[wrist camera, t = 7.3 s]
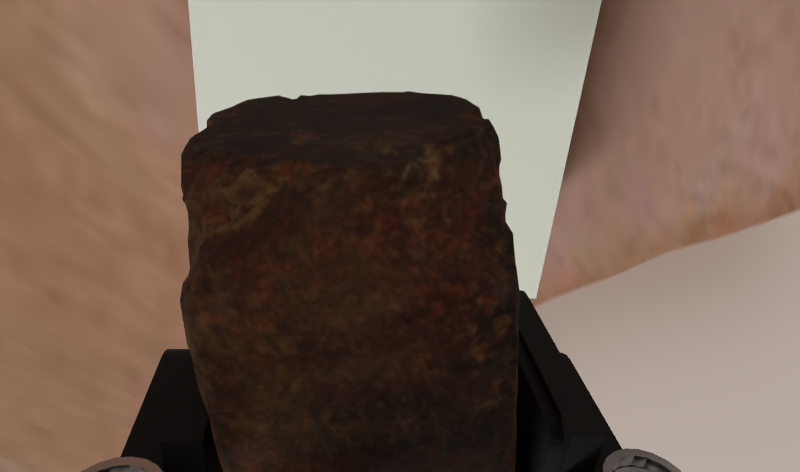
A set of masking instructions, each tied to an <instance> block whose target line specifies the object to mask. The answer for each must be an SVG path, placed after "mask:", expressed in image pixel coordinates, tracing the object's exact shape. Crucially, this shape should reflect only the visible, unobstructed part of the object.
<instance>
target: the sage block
mask: <svg viewBox="0 0 800 472" xmlns="http://www.w3.org/2000/svg"><path fill="white" fill-rule="evenodd" d="M601 1H602V0H188V5H189V17H190V30H191V42H192V54H193V66H194V79H195V91H196V103H197V115H198V128H199V132H201V131H202V130H204V129H205V128H207V120H208V118H209V117H210V116H211V115H212V114H213V113H216V112H218V111H221V110H224V109H227V108H230V107H233V106H235V105H237V104H238V103H241V102H243V101H246V100H249V99H255V98H263V97H270V96H278V95H280V96H282V97H287V98H290V99H297V98H298V97H299V96H300V95H306V96H313V95H317V94H347V93H369V92H406V91H411V92H417V93H428V94H444V95H454V96H457V97H461V98H464V99H466V100H468V101H470V102H471V103H473V104H474V105H476V106H478V107H479V108H480V111H481V114H482V117H483V118H484V119H489V120H490V122H491V123H492V125H493V126H494V128H495V131H496V133H497V135H498V137H499V143H500V152H501V162H500V166H499V175H500V179H501V184H502V193H503V199H504V200H505V201H506V202H507V207H506V214H505V217H506V223H507V224H508V226H509V228H510V229H511V231H512V232H513V240H514V251H515V262H516V268H517V275H518V283H519V290H522V291H525V293H526V294H527V296H528V297H529V298H536V296H537V291H538V287H539V282H540V278H541V273H542V269H543V264H544V260H545V255H546V251H547V246H548V242H549V237H550V232H551V228H552V223H553V219H554V214H555V210H556V205H557V201H558V196H559V192H560V187H561V183H562V178H563V174H564V169H565V165H566V160H567V155H568V151H569V146H570V142H571V137H572V133H573V128H574V124H575V119H576V115H577V110H578V106H579V101H580V97H581V92H582V88H583V83H584V78H585V74H586V69H587V65H588V60H589V56H590V51H591V47H592V42H593V38H594V33H595V29H596V24H597V20H598V15H599V11H600V6H601Z"/></svg>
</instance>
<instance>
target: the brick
mask: <svg viewBox="0 0 800 472" xmlns="http://www.w3.org/2000/svg"><path fill="white" fill-rule="evenodd" d="M500 162H501V152H500V143H499V137H498V135H497V133H496V131H495V128H494V126H493V125H492V123H491V122H490V120H489V119H484V118H483V117H482V114H481V111H480V108H479V107H478V106H476V105H474V104H473V103H471V102H470V101H468V100H466V99H464V98H461V97H457V96H454V95H444V94H428V93H417V92H411V91H406V92H369V93H347V94H317V95H313V96H306V95H300V96H299V97H298V98H297V99H290V98H287V97H282V96H280V95H278V96H270V97H263V98H255V99H249V100H246V101H243V102H241V103H238V104H237V105H235V106H233V107H230V108H227V109H224V110H221V111H218V112H216V113H213V114H212V115H211V116H210V117H209V118H208V120H207V128H205V129H204V130H202V131H201V132H199V133H198V134H196V135H194V136H193V137H192V138H190V140H189V142H188V143H187V145H186V146H185V148H184V150H183V152H182V157H181V188H182V192H183V201H184V203H185V204H186V207H187V211H188V218H189V233H188V248H189V260H190V271H189V275H188V277H187V278H186V280H185V281H184V282H183V286H182V292H181V298H180V303H181V309H182V315H183V322H184V328H185V334H186V340H187V344H188V347H189V351H190V354H191V357H192V360H193V365H194V370H195V374H196V379H197V383H198V388H199V391H200V394H201V396H202V399H203V402H204V404H205V407H206V410H207V412H208V415H209V418H210V424H211V429H212V434H213V438H214V442H215V446H216V450H217V455H218V458H219V461H220V464H221V466H222V469H223V472H515V460H516V404H517V394H518V350H519V324H518V321H519V309H520V291H519V283H518V275H517V268H516V262H515V251H514V240H513V232H512V231H511V229H510V228H509V226H508V224H507V223H506V217H505V214H506V207H507V202H506V201H505V200H504V199H503V193H502V184H501V179H500V175H499V166H500Z"/></svg>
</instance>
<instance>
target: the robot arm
mask: <svg viewBox="0 0 800 472" xmlns="http://www.w3.org/2000/svg"><path fill="white" fill-rule="evenodd" d="M519 291H520V309H519V321H518V324H519V350H518V394H517V404H516V460H515V472H681V471H680V470H679V469H678V468H676V467H675V466H674V465H672V464H671V463H670V462H668V461H667V460H665V459H663V458H661V457H659V456H657V455H655V454H653V453H650V452H646V451H642V450H639V449H622V448H621V446H620V445H619V443H618V441H617V440H616V438H615V436H614V435H613V433H612V431H611V429H610V427H609V426H608V424H607V422H606V421H605V419H604V417H603V415H602V414H601V412H600V410H599V408H598V407H597V405H596V403H595V402H594V400H593V398H592V397H591V395H590V393H589V391H588V390H587V388H586V386H585V384H584V383H583V381H582V379H581V378H580V376H579V374H578V372H577V371H576V369H575V367H574V365H573V364H572V362H571V360H570V359H569V358H568V356H567V355H565V354H563V353H560V352H559V351H558V349H557V347H556V345H555V343H554V342H553V340H552V338H551V336H550V335H549V333H548V331H547V329H546V327H545V326H544V324H543V322H542V320H541V319H540V317H539V315H538V313H537V312H536V310H535V308H534V306H533V304H532V303H531V301H530V299H529V297H528V296H527V294H526V293H525V291H522V290H519ZM81 472H223V469H222V466H221V464H220V461H219V458H218V455H217V450H216V446H215V442H214V438H213V434H212V429H211V424H210V418H209V415H208V412H207V410H206V407H205V404H204V402H203V399H202V396H201V394H200V391H199V388H198V383H197V379H196V374H195V370H194V365H193V360H192V357H191V354H190V351H189V349H167V350H166V351H165V352H164V353H163V355H162V357H161V360H160V362H159V365H158V367H157V369H156V372H155V374H154V377H153V379H152V382H151V384H150V386H149V389H148V391H147V394H146V396H145V399H144V401H143V404H142V406H141V408H140V411H139V413H138V416H137V418H136V421H135V423H134V425H133V428H132V430H131V433H130V435H129V438H128V440H127V443H126V445H125V447H124V450H123V452H122V455H121V457H119V458H113V459H109V460H106V461H102V462H99V463H97V464H95V465H93V466H91V467H89V468H87V469H85V470H83V471H81Z"/></svg>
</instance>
